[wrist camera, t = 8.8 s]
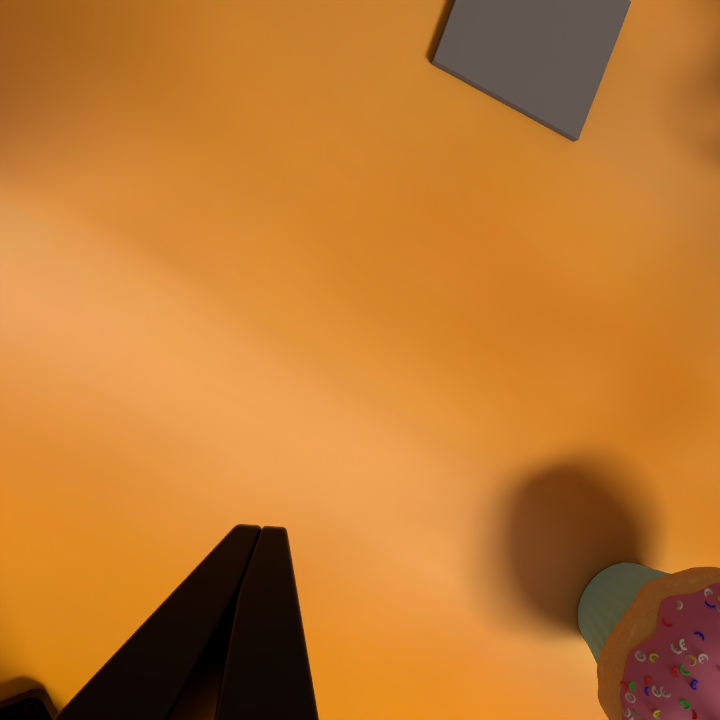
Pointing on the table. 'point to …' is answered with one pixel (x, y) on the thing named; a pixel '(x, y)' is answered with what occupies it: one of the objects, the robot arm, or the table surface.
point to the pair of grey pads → (533, 54)
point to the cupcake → (654, 641)
